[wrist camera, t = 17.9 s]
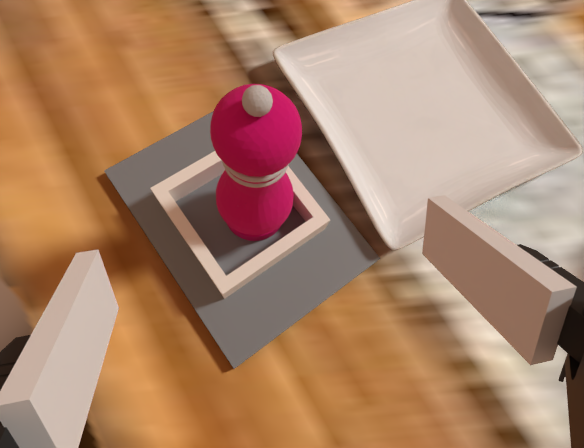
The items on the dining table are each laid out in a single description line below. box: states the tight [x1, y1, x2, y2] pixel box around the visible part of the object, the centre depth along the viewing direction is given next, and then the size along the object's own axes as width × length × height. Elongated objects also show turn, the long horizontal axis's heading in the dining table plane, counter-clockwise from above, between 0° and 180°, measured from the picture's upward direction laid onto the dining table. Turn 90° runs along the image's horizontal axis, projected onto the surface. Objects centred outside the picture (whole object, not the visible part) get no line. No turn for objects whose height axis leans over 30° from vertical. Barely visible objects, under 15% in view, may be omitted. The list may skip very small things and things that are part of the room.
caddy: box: [105, 111, 380, 369], centre depth 40 cm, size 18×24×4 cm
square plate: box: [273, 0, 583, 250], centre depth 46 cm, size 27×27×4 cm
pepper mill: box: [210, 84, 302, 241], centre depth 31 cm, size 7×7×20 cm
